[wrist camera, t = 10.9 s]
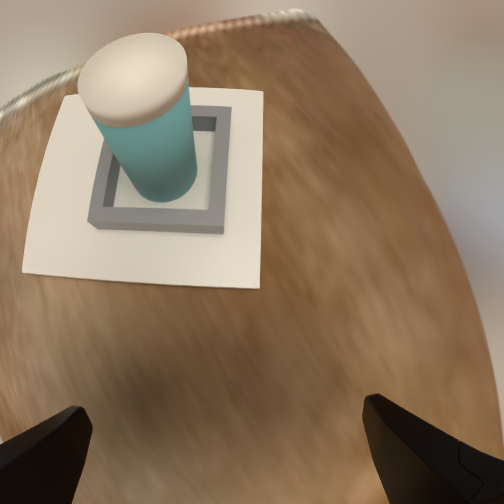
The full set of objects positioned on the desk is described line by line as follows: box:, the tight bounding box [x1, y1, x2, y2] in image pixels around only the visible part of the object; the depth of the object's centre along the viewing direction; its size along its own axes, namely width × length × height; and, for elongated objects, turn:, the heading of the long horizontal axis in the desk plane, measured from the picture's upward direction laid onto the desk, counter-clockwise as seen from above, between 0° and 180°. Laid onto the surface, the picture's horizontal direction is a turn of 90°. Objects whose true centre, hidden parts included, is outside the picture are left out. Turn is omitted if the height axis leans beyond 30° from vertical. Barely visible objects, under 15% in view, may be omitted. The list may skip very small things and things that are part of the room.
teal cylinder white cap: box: [78, 33, 197, 203], centre depth 16 cm, size 5×5×11 cm
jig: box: [22, 87, 263, 289], centre depth 21 cm, size 16×18×3 cm
